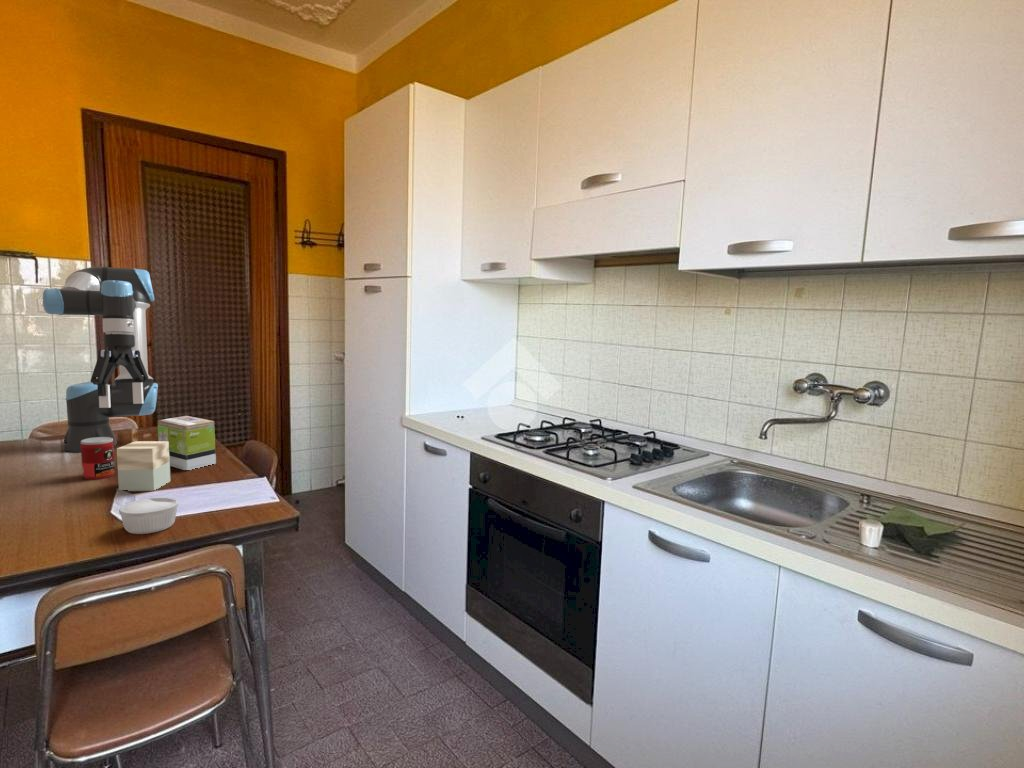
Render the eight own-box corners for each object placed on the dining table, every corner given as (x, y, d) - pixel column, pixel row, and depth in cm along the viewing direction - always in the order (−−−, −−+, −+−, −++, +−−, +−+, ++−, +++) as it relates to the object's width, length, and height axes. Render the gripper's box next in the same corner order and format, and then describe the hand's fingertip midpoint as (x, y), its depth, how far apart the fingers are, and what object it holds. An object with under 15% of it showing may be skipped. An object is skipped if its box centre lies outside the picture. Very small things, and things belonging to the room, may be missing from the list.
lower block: (137, 482, 159) (136, 461, 158) (170, 481, 160) (169, 461, 159) (118, 491, 150) (117, 470, 149) (154, 491, 151) (153, 470, 150)
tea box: (158, 464, 177) (156, 419, 175) (188, 458, 186) (187, 414, 184) (186, 471, 170) (184, 424, 168) (217, 464, 179) (215, 419, 177)
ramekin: (188, 518, 132) (187, 497, 131) (160, 536, 121) (159, 513, 120) (141, 517, 132) (140, 496, 131) (108, 536, 121) (107, 513, 120)
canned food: (98, 480, 158) (96, 443, 157) (75, 478, 160) (73, 441, 159) (122, 473, 166) (120, 437, 165) (100, 471, 167) (97, 436, 166)
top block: (136, 461, 158) (135, 441, 158) (169, 461, 159) (168, 441, 159) (117, 470, 150) (116, 448, 149) (153, 470, 151) (152, 448, 150)
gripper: (99, 331, 150) (102, 409, 151) (159, 335, 175) (162, 401, 176) (72, 332, 150) (75, 409, 151) (136, 335, 175) (139, 402, 176)
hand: (122, 405), depth 163 cm, fingers open, 13 cm apart
